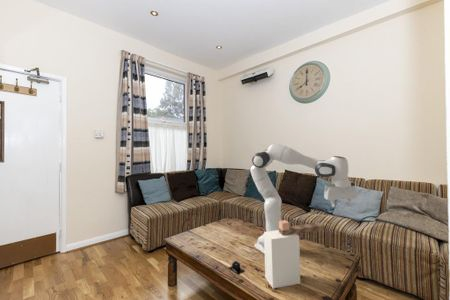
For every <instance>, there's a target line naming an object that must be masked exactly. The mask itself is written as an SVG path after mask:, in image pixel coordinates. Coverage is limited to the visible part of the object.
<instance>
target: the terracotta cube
mask: <svg viewBox="0 0 450 300" xmlns="http://www.w3.org/2000/svg"><path fill="white" fill-rule="evenodd" d="M289 227H290V222H289V221H287V220H285V219H283V220H282V221H279V228H280V229H281V230H282V231H285V230H289Z"/></svg>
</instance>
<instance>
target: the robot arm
mask: <svg viewBox="0 0 450 300" xmlns="http://www.w3.org/2000/svg"><path fill="white" fill-rule="evenodd" d="M274 160H275V161H278V162H280V163H283V164H286V165H291V166H292V165H301V166H306V167H308V168H311V169H313V170H314V172H315V174H316V176H318V177H320V178H330V177H331V184H330V183H328V184H326V185H325V186H324V192H323V193H324V194H323V197H324V199H325V200H327V201H329V202H330V204H331V207H332V208H336V207H337V203H335V201H336V200H344V199H345V200H346V202H345V204H344V205H345V206H347V207H349V206H350V203H351V202H352V199H355V198H357V197H358V190H357V189H358V188H357V187H356V186H357V182H356V181H355V182H354V181H351V180H350V178H349V163H348V159H347V158H346V157H345V156H340V155H339V156H338V155H333V156H332V157H330V158H328V159H323V160H321V159H316V158H312V157H310V156H306V155H304V154H302V153H300V152H298V151H297V150H295V149H293V148H292V147H288V146H286V145H283V144H280V143H279V144H278V143H272V144H271V145H269V146H268V148H267V149H263V150H260V151H258V152H256V153H255V154H254V155H253V156H252V159H251V161H252V166H251V167H250V171H249V172H250V175H251V178H252V181H253V182H254V184H255V187H256V188H257V191H258V193H259V194H260V195H261V196H262V198H263V200H264V203H263V208H264V217H265V229H264V230H262V232H263V234H262V235H260V236H258V238H257V242H255V243H254V248H256V249H257V250H258V251H260V252H261V253H263V255H265V251H264V232H267V231H275V230H279V221H283V220H282V210H281V209H282V208H281V207H282V199H281V196H280V195H279V193H278V191H277V189H276V188H275V186H274V184H273V182H272V181H271V178H270V176H269V174H268V172H267V170H266V168H267V167H268V166H269V165H271V163H273V161H274Z"/></svg>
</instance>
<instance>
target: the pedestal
mask: <svg viewBox="0 0 450 300" xmlns="http://www.w3.org/2000/svg"><path fill="white" fill-rule="evenodd" d="M263 234H264V251H265V254H264V276H265V277H264V278H265V279H266V280H267V282H268V283H269V285H270V287H272V289H276V288H282V287H283V288H284V287H289V286H293V285H294V286H295V285H299V284H301V264H300V263H301V258H300V257H301V255H300V250H301V249H300V235H299V233H298V234H291V235H284V236H283V235H282V234H280V233H279V230H275V231H267V232H265V231H264V232H263Z"/></svg>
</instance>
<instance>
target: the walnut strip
mask: <svg viewBox="0 0 450 300" xmlns="http://www.w3.org/2000/svg"><path fill="white" fill-rule="evenodd" d="M318 231H325V225H324V224H322V223H321V222H315V223H307V224H299V225H291V226H290V225H289V230H285V231H282V230H281V229H280V228H279V233H280V234H282V235H283V236H284V235H291V234H298V235H299V234H304V233H312V232H318Z"/></svg>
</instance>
